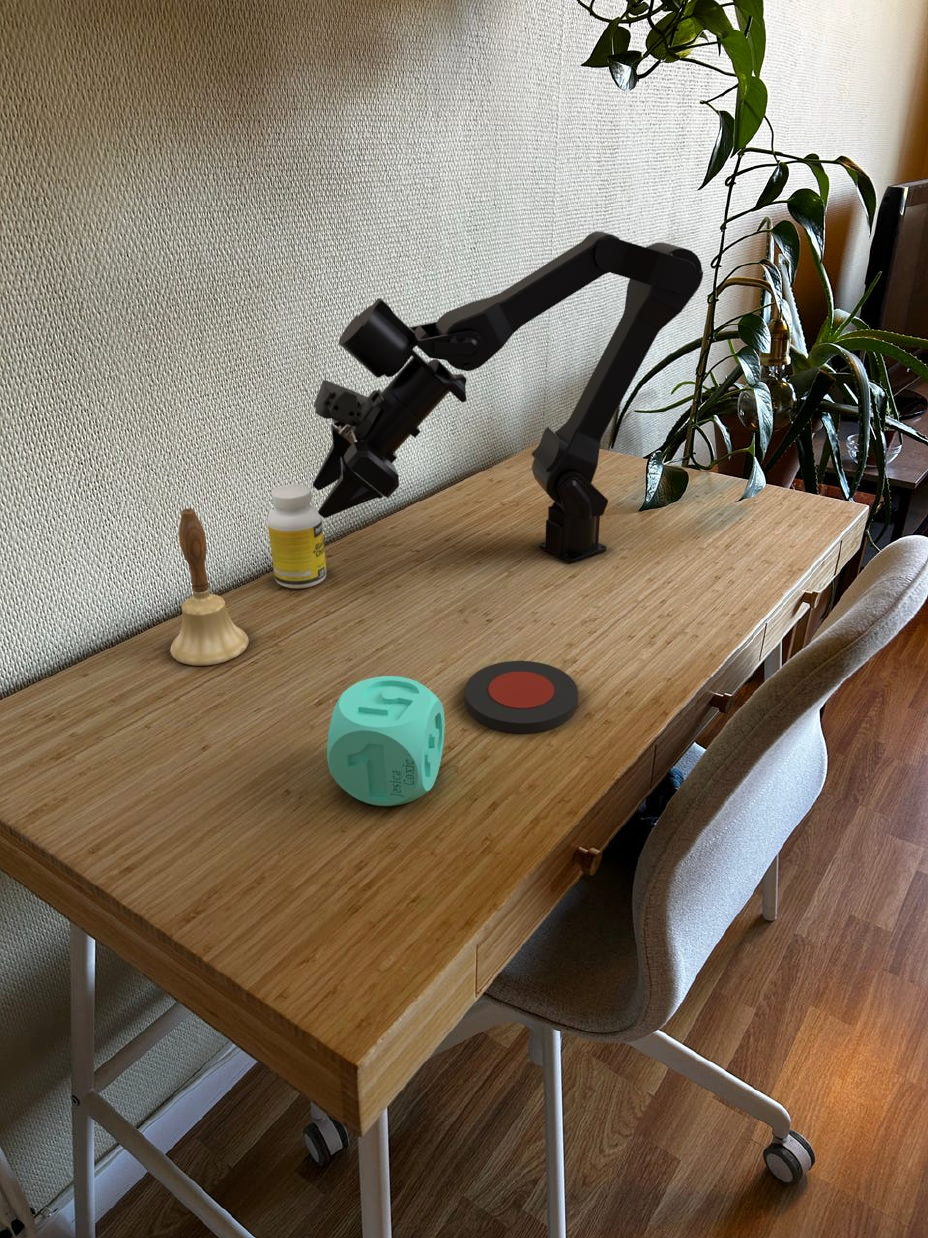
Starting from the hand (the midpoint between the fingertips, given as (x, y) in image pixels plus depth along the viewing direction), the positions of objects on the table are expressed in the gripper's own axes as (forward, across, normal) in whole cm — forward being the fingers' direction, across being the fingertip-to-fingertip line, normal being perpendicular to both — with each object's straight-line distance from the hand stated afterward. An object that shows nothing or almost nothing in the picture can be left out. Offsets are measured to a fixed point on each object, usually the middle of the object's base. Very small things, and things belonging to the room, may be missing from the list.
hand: (318, 501), depth 109 cm
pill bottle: (+9, 0, +5) cm, 11 cm away
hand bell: (+17, +14, -2) cm, 22 cm away
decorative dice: (+6, +41, +9) cm, 43 cm away
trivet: (-5, +32, +19) cm, 38 cm away
